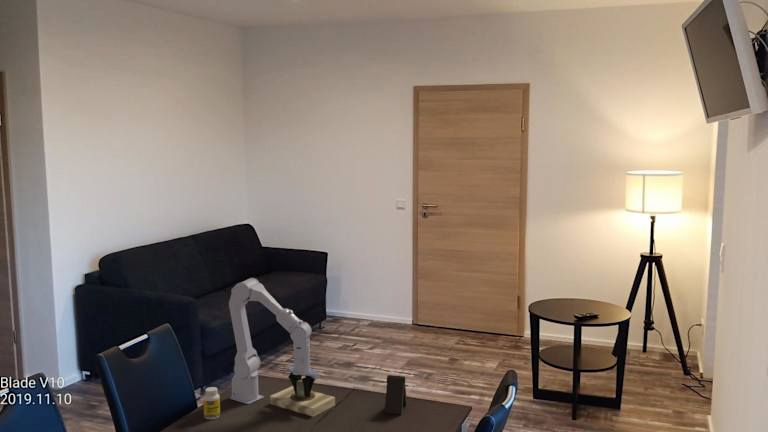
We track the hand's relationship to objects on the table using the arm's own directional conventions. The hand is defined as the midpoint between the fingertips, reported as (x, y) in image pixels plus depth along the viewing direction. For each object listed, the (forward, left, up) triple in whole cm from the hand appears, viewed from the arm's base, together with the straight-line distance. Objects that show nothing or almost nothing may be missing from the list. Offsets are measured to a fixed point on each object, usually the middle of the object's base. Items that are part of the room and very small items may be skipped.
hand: (302, 394), depth 238 cm
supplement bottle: (-19, -25, -4) cm, 32 cm away
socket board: (0, 0, -4) cm, 4 cm away
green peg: (0, 0, -3) cm, 3 cm away
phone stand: (+30, +15, -4) cm, 34 cm away
